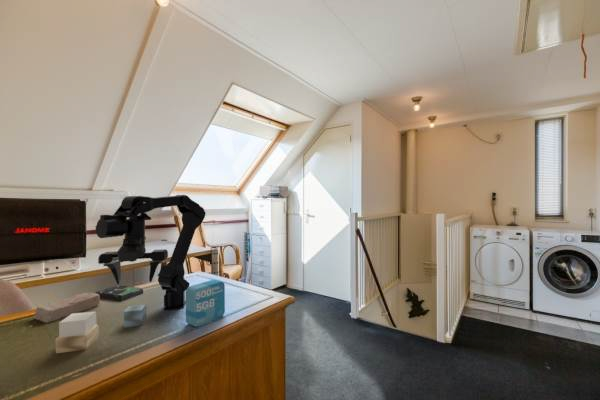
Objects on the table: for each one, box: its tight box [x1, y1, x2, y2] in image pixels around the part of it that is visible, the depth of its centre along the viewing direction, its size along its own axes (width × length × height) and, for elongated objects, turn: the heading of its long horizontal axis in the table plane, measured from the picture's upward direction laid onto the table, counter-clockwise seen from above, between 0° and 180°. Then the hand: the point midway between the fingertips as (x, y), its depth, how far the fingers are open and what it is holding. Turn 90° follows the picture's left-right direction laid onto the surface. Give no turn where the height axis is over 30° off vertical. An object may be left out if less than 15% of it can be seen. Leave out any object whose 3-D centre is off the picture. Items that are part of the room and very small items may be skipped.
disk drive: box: [94, 284, 144, 302], centre depth 117 cm, size 10×3×15 cm
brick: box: [34, 292, 101, 323], centre depth 100 cm, size 17×8×5 cm, turn 156°
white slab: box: [58, 310, 97, 338], centre depth 77 cm, size 6×6×4 cm
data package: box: [185, 279, 226, 328], centre depth 91 cm, size 12×4×12 cm, turn 144°
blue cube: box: [123, 304, 147, 328], centre depth 90 cm, size 5×5×5 cm
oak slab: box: [55, 323, 100, 354], centre depth 76 cm, size 7×7×4 cm
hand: (134, 282), depth 90 cm, fingers open, 9 cm apart
